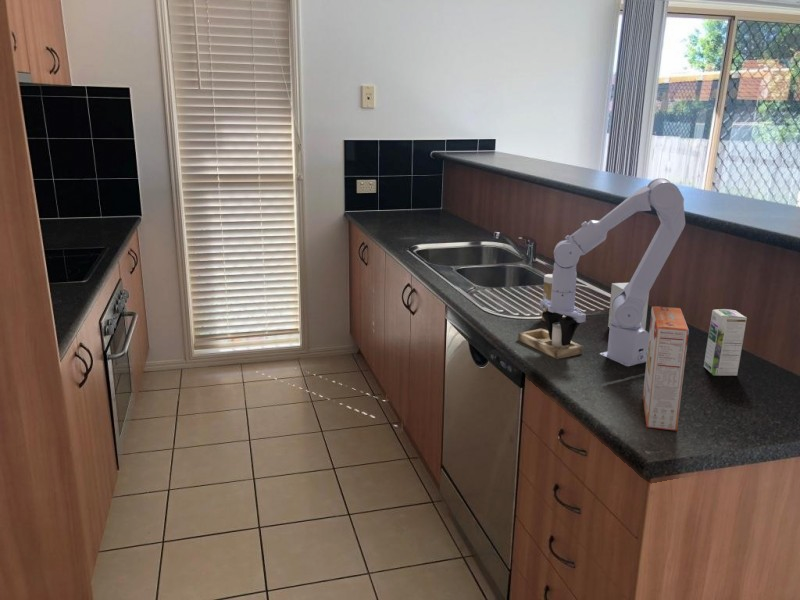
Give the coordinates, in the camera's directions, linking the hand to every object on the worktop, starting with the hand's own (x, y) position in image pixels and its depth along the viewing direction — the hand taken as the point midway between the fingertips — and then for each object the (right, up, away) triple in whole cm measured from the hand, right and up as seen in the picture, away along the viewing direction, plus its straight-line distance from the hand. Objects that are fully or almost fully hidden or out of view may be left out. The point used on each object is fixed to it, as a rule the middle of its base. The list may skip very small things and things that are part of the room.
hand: (559, 341), depth 165 cm
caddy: (-2, -2, +4) cm, 5 cm away
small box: (+23, +2, +18) cm, 29 cm away
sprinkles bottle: (+3, +4, +27) cm, 27 cm away
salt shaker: (0, -2, +1) cm, 2 cm away
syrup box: (+35, -6, -11) cm, 37 cm away
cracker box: (+12, -13, -32) cm, 37 cm away
